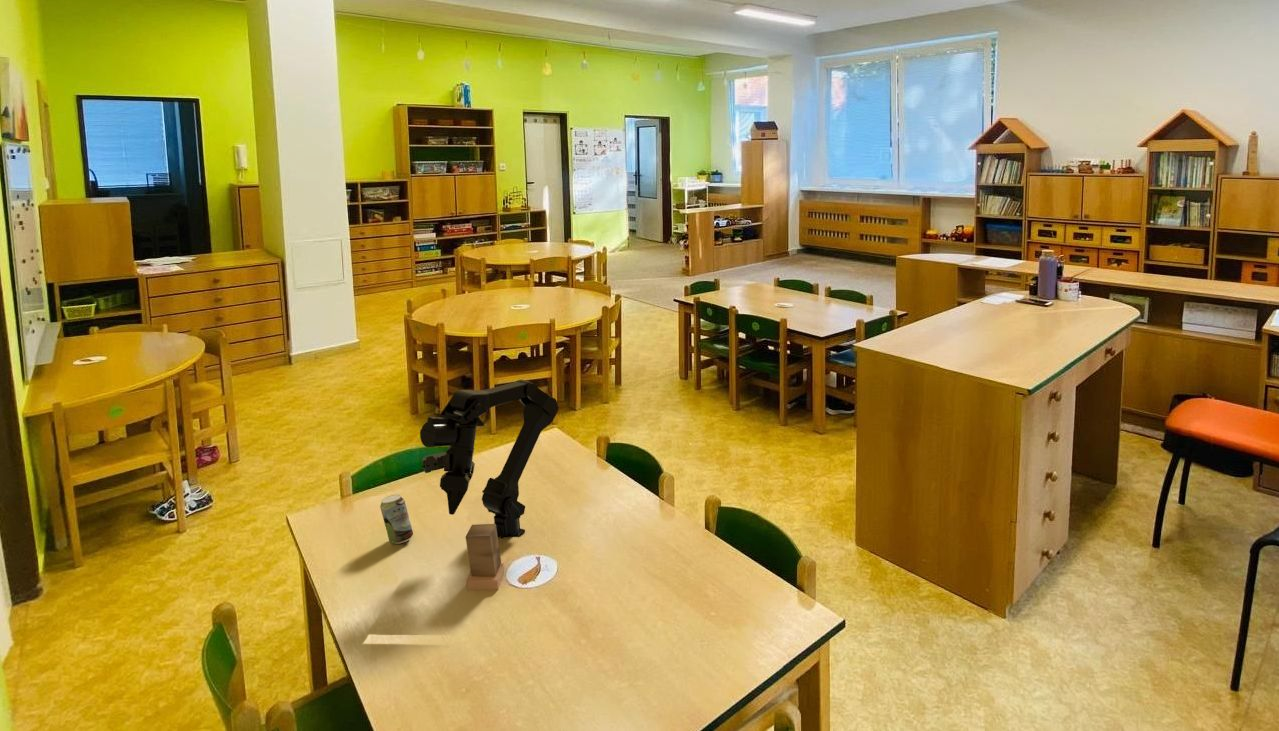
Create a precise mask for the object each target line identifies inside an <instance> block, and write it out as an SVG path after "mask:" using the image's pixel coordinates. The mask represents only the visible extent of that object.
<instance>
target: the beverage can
mask: <svg viewBox="0 0 1279 731" xmlns="http://www.w3.org/2000/svg"><path fill="white" fill-rule="evenodd" d="M380 502H381V503H380V506H379V508H380V511H381V515H382V518H383V519H382V520H383V522H384V527H385V530H386V533H387V537H388V541H389V542H390V543H392V544H394V545H395V544H396V545H398V544H402V543H405V542H408V541H409V540H410V539H411V538H412V537H413V536H414V530H413V528H412V523H411V520H410V516H409V512H408V509H407V504H406V501H405V499H404V498H403V497H402V495H401V494H391V495H389V496H388V495H387V496H386V497H383V498H382V499H381V500H380Z"/></svg>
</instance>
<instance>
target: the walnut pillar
mask: <svg viewBox="0 0 1279 731" xmlns="http://www.w3.org/2000/svg"><path fill="white" fill-rule="evenodd" d="M465 541H466V542H465V544H466V549H467V555H468V562H469V569H470V571H471V576H496V574H497V571H498V569H499V567H500V564H502V560H501V552H500V546H499V537H498V536H497V529H496V524H494V523H484V524H483V523H481V524H478V523H477V524H476V523H475V524H471V526H470V528H469V530H468V531H467V534H466V535H465Z"/></svg>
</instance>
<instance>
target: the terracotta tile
mask: <svg viewBox="0 0 1279 731" xmlns="http://www.w3.org/2000/svg"><path fill="white" fill-rule="evenodd" d="M504 575H505V564H504V563H501V564H500V567H499V569H498V571H497V574H496V576H471V570H470V571H469V574H468V575H467V578H466V579H465V582H466V583H465V584H466V591H498V590H499V588H500V586H501V584H502V581H503V577H504Z"/></svg>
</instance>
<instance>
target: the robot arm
mask: <svg viewBox="0 0 1279 731" xmlns="http://www.w3.org/2000/svg"><path fill="white" fill-rule="evenodd" d="M518 400H519V402H520V404H522V405H523V406H524V407H523V409H522V410H523V411H522V418H523V424H522V427H521V428H520V431H519V433H518V435H517V437H516V440H515V441H514V444H513V446H512V448H511V450H510V452H509V455H508V456H507V459H506V461H505V464H504V465H503V467H502V470H501V472H500V474H499V475H497V476H495V478H493V477H490V478H488V479H487V482H486V484H485V486H484V489H483V490H482V491H481V493H482V496H481V501H482V505H483V506H484V508H486V509H487V512H488V513H490V514H493V515H494V516H493V524H496V529H497V536H498V539H499V538H500V539H505V538H519V537H521V536H522V535H523V534H524V533H525V532H526V530H525V529H524V528H521V523H520V519H521V517H522V516H523V515H525V511H526V505H525V504H523V503H521V502H520V501H518V498H519V495H520V490H519V488H520V487H519V481H520V479H521V477H522V475H523V473H524V470H525V468H526V466H527V463H528V461H529V459H530V457H531V455H532V452H533V450H534V448H535V446H536V444H537V441H538V439H539V437H540V435H541V433H542V431H543V430H545V429H546V428H547V427H549V426H550V425H551V424H552V422H553V421H554V419H555V418H556V416H557V414H558V412H559V408H560V407H559V404H558V401H557V399H556V398H555V397H552V396H550V395H549V394H548V393H546V392H545V391H544V390H542V389H540V388H539V387H538V386H537V385H536V384H535V383H534V382H532V381H530V380H529V381H528V380H524V379H518V380H516V381H515V382H509V383H506V384H503V385H497V386H494V387H490V388H486V389H482V390H481V389H480V390H478V389H459V390H456V391H455V392H453V393H452V396H451V397H450V399H449V401H448V403H447V404H446V405H445V407H444V408H443V409H442V411H441V412H440V413H439V415H438V417H436V416H428V417H427V422H425V423H424V424H422V427H421V429H420V431H419V438H420V441H421V443H422V445H423V446H424V447H425V448H436V447H437V448H438V447H439V448H440V447H448V448H447V449H446V451H444V452H442V451H441V452H438V453H433V454H429V455H425V456H423V458H422V459H421V462H422V468H423V471H424V473H425V474H428V473H431V472H434V471H439V470H442V469H443V472H444V474H442V475H441V477H440V481H439V488H440V489H441V490H442V491H444V492H445V494H446V497H447V504H448V513H449V515H450V516H451V515H455V514H456V512H457V510H458V508H459V506H460V504H461V502H462V501H463V499H464V497H465V495H466V493H467V491H468V489H469V487H470V486H469V485H470V482H471V480H472V477H473V475H474V472H475V465H476V463H475V462H474V461H473V457H474V453H475V440H476V434H477V427H483V426H485V423H484V421H482V420H481V418H480V417H481V416H483V415H485V414H486V413H487V412H488V411H490V409H491V408H494V407H497V406H500V405H501V406H502V405H505V404H508V403H511V402H514V401H515V402H516V401H518Z"/></svg>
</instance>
